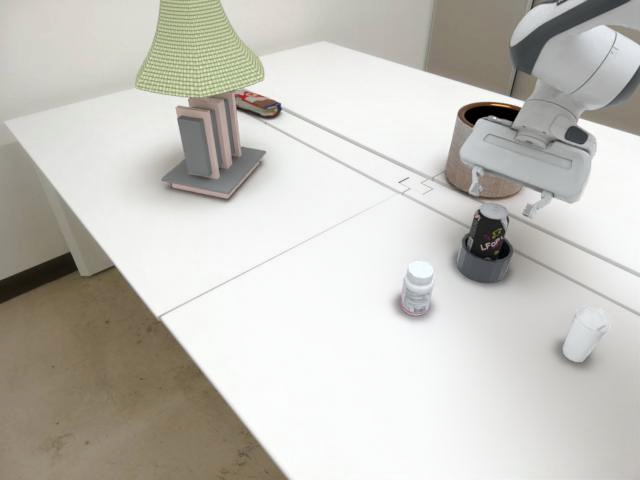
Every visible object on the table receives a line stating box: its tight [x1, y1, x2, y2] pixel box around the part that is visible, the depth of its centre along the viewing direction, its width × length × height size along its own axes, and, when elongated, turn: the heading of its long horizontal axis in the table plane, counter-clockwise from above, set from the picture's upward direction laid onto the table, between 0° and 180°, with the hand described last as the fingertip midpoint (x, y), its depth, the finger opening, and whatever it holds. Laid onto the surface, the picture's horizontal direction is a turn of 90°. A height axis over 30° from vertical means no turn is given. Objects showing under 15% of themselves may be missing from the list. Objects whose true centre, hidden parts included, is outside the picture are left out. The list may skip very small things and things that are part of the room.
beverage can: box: [466, 202, 510, 260], centre depth 80 cm, size 6×6×12 cm
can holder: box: [456, 232, 515, 284], centre depth 83 cm, size 9×9×5 cm
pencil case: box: [234, 89, 283, 117], centre depth 137 cm, size 11×20×5 cm, turn 39°
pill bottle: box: [399, 260, 435, 316], centre depth 74 cm, size 5×5×8 cm
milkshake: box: [561, 304, 613, 363], centre depth 66 cm, size 4×5×10 cm
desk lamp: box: [134, 0, 267, 200], centre depth 97 cm, size 26×28×40 cm
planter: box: [444, 101, 523, 199], centre depth 103 cm, size 18×18×16 cm
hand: (498, 205), depth 75 cm, fingers open, 8 cm apart
